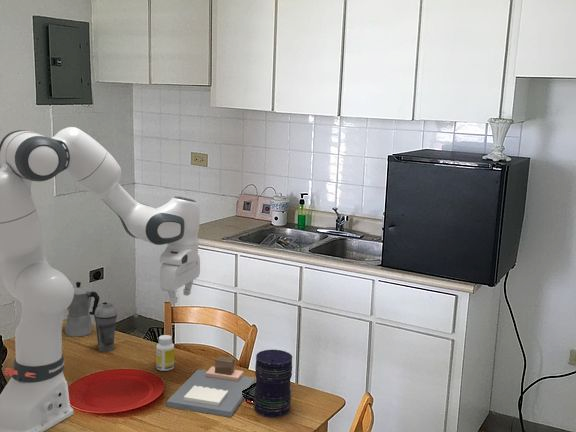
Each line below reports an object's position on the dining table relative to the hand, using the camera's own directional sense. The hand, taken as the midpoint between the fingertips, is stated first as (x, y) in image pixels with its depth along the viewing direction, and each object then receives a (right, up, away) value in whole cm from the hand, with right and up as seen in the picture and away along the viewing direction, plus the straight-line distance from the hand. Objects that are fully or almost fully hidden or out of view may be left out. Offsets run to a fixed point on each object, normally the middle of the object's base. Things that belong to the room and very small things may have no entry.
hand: (180, 298), depth 188 cm
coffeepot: (-40, -16, +34) cm, 55 cm away
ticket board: (+10, -26, -7) cm, 29 cm away
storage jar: (+27, -28, -14) cm, 42 cm away
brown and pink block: (+13, -23, +1) cm, 26 cm away
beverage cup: (-28, -19, +21) cm, 40 cm away
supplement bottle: (-6, -22, +9) cm, 25 cm away
